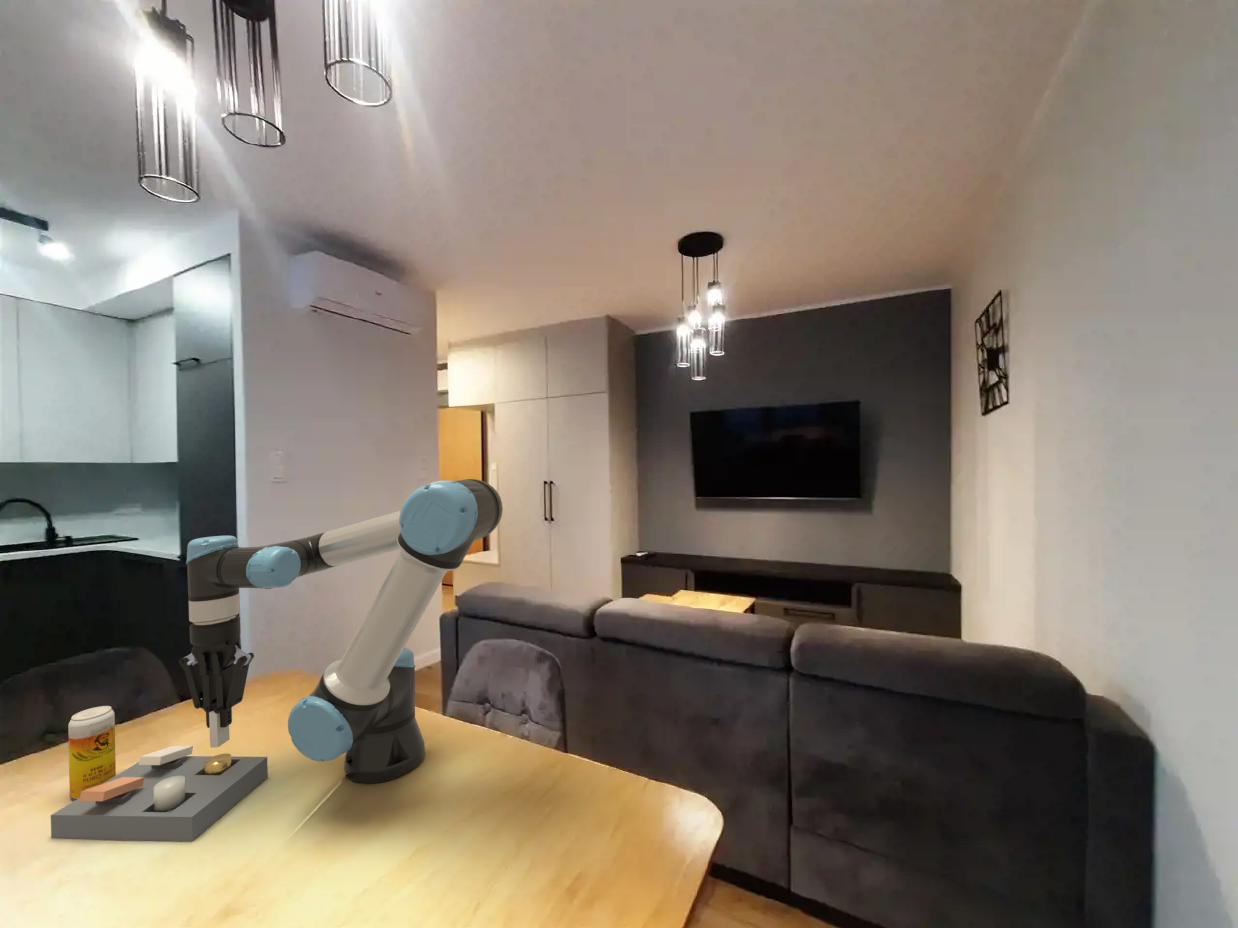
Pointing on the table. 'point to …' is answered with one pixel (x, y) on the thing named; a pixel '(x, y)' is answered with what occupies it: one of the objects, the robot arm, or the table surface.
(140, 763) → the white rocker
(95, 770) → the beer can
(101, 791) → the terracotta rocker
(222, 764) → the gold rounded piece
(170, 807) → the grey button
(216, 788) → the grey slotted tray
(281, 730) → the table surface
